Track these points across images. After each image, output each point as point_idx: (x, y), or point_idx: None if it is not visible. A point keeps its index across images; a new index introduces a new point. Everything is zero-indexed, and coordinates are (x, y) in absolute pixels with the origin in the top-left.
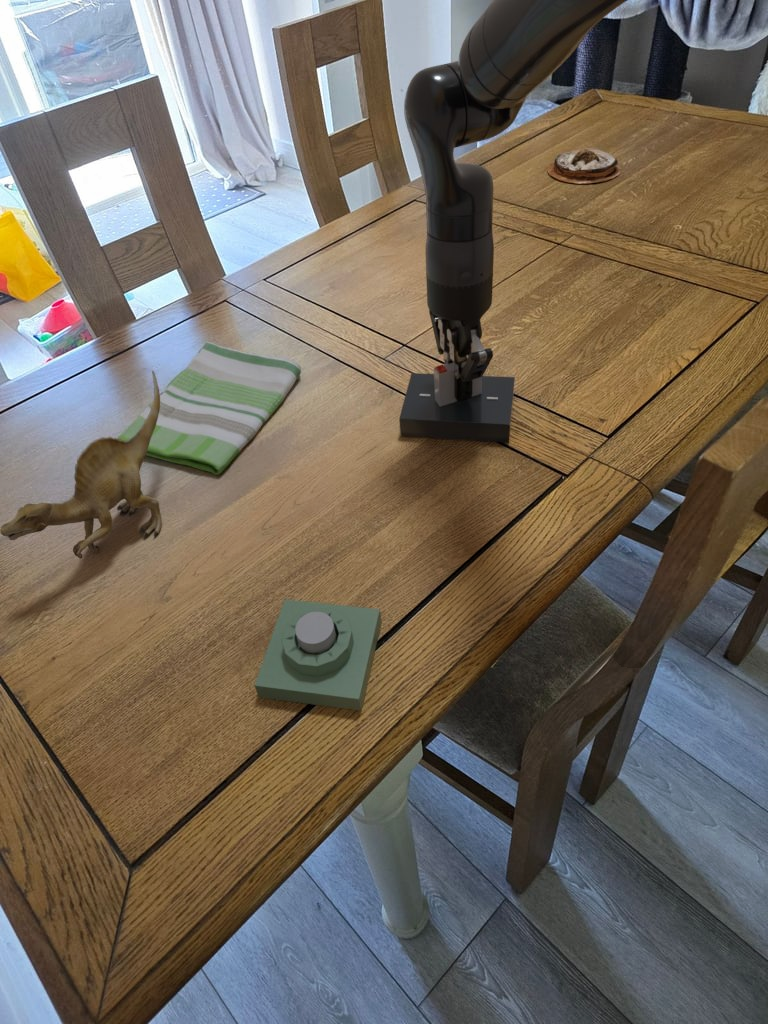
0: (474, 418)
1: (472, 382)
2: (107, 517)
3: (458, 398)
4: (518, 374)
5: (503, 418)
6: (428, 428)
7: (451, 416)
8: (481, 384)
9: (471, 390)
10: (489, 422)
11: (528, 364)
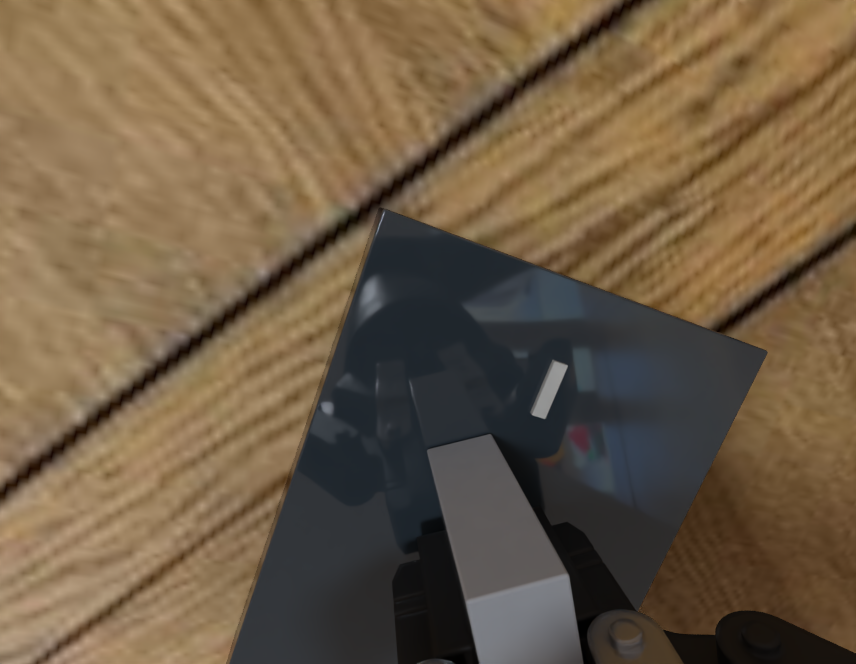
0: (662, 500)
1: (571, 561)
2: None
3: None
4: (192, 120)
5: (715, 371)
6: None
7: None
8: (507, 465)
9: (594, 552)
10: (716, 441)
11: (95, 23)
